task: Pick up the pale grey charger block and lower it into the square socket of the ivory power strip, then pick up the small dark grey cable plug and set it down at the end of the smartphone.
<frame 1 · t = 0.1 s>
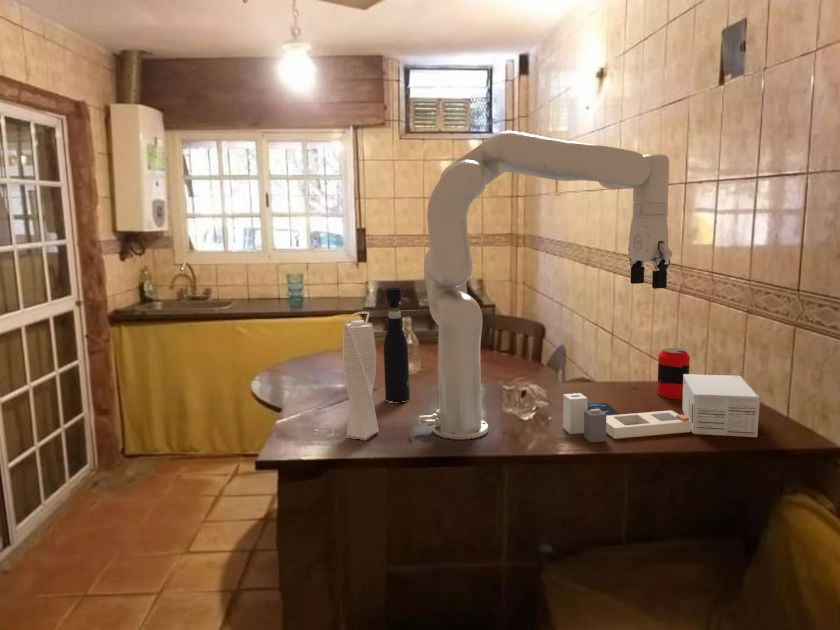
hand: (647, 285, 148), 31 cm above the countertop, tool pointing down, fingers open, 9 cm apart
power strip: (643, 429, 143), on the countertop
charger: (574, 430, 144), on the countertop
smartphone: (601, 415, 155), on the countertop
skyscraper: (363, 436, 144), on the countertop
wine bottle: (397, 400, 170), on the countertop
cable plug: (594, 438, 138), on the countertop
supplement box: (716, 424, 146), on the countertop
soda can: (672, 395, 168), on the countertop
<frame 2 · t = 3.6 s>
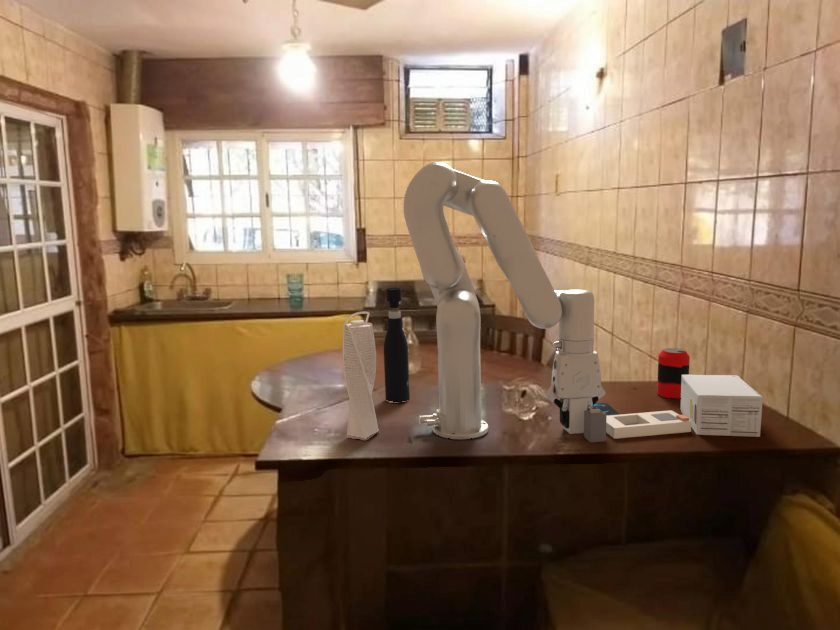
hand: (575, 424, 144), 1 cm above the countertop, tool pointing down, fingers closed on charger, 4 cm apart
charger: (575, 430, 144), on the countertop, touching gripper
everything else where it was.
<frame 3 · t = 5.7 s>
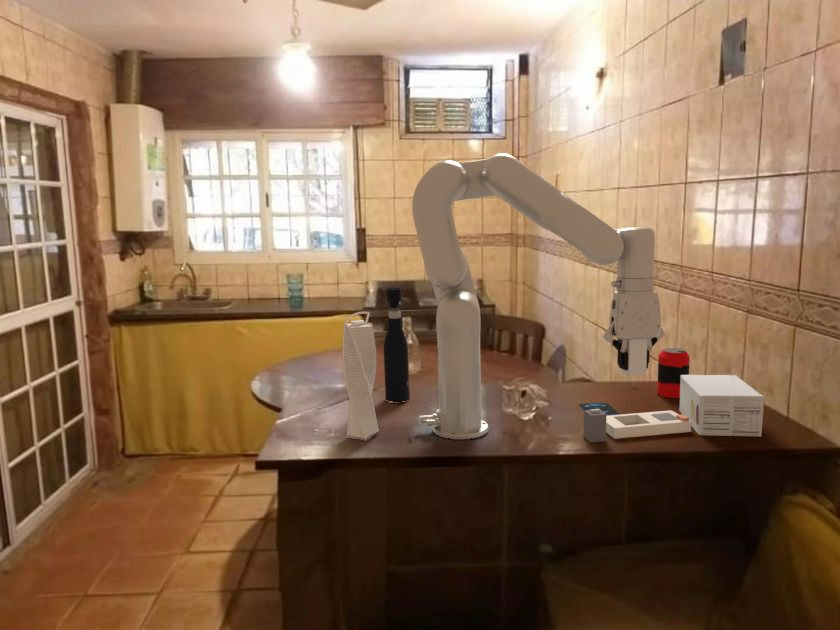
hand: (633, 367, 140), 15 cm above the countertop, tool pointing down, fingers closed on charger, 4 cm apart
charger: (633, 372, 141), point 13 cm above the countertop, touching gripper
everything else where it was.
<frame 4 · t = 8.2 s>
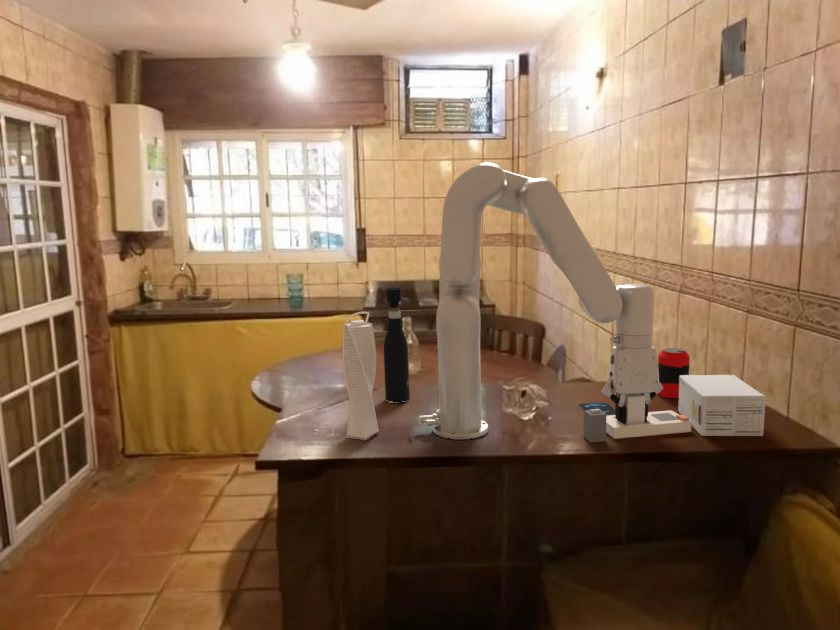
hand: (631, 420, 142), 2 cm above the countertop, tool pointing down, fingers closed on charger, power strip, 4 cm apart
charger: (631, 428, 143), resting on power strip, touching gripper
everything else where it was.
when the fingers open (2 cm above the countertop, at t = 9.1 s): charger stays where it is, resting on power strip.
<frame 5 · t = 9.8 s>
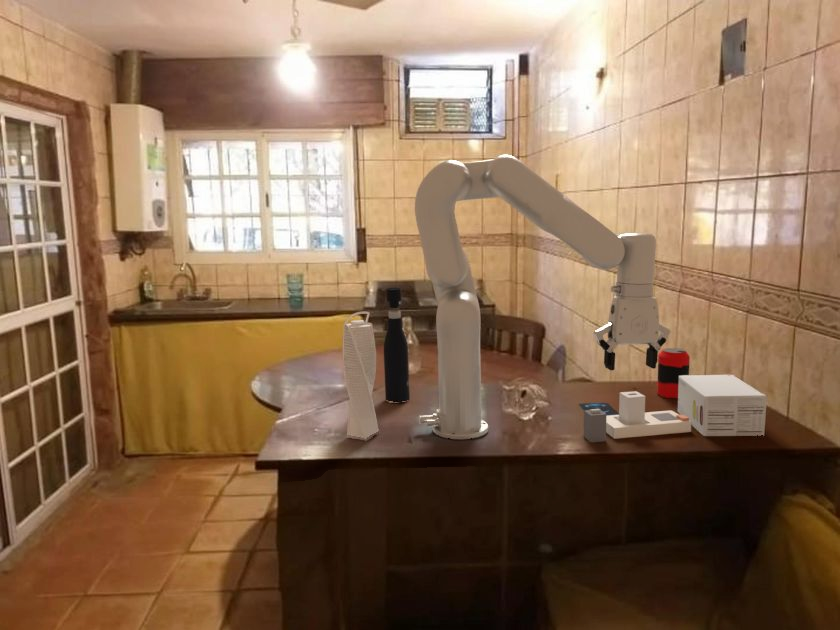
hand: (630, 368, 140), 14 cm above the countertop, tool pointing down, fingers open, 9 cm apart
charger: (631, 428, 143), resting on power strip
everything else where it was.
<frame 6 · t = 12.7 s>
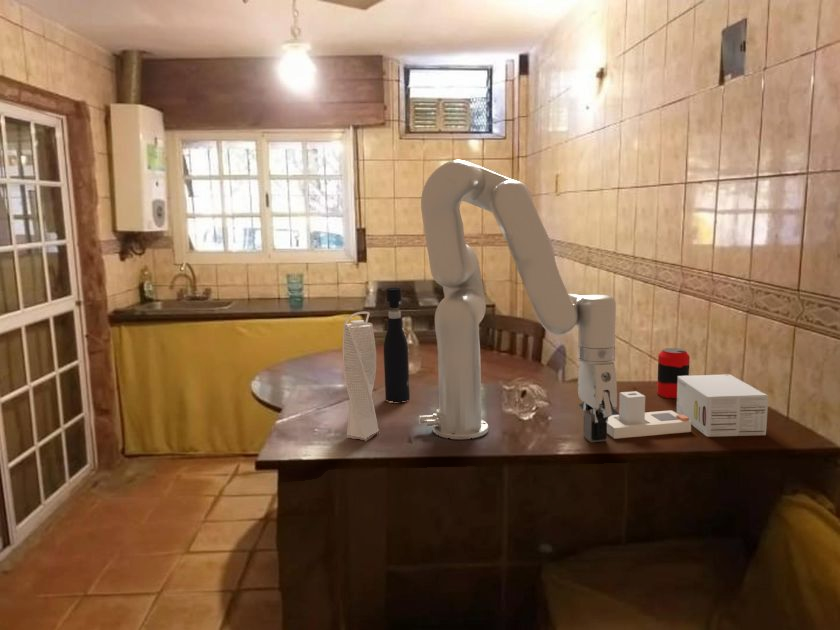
hand: (594, 435, 138), 1 cm above the countertop, tool pointing down, fingers closed on cable plug, 3 cm apart
cable plug: (594, 438, 138), on the countertop, touching gripper
when the fingers open (2 cm above the countertop, at t = 17.6 s): cable plug stays where it is, on the countertop.
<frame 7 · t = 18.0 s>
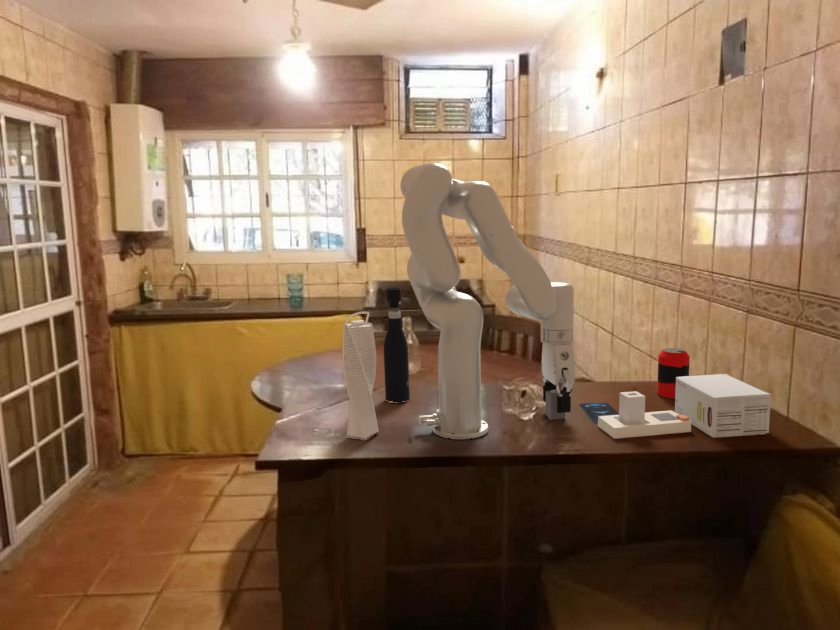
hand: (556, 406, 153), 3 cm above the countertop, tool pointing down, fingers open, 8 cm apart
cable plug: (555, 416, 153), on the countertop
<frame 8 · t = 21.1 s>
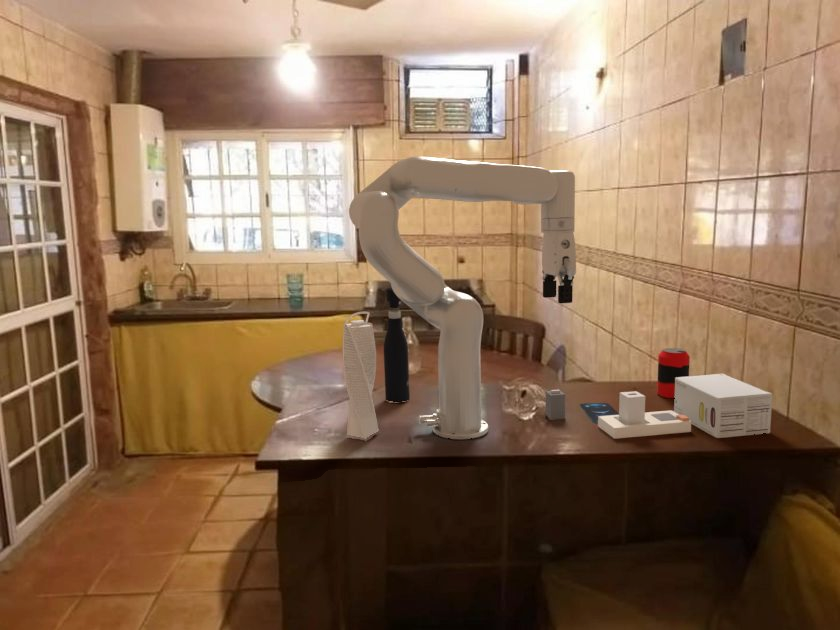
hand: (557, 299, 149), 28 cm above the countertop, tool pointing down, fingers open, 9 cm apart
at the end: charger 0.1 cm from the target spot on the power strip, point 0.3 cm above the power strip's base; cable plug inside the target area (0.3 cm from its centre), on the countertop; cable plug tilted 0° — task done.
